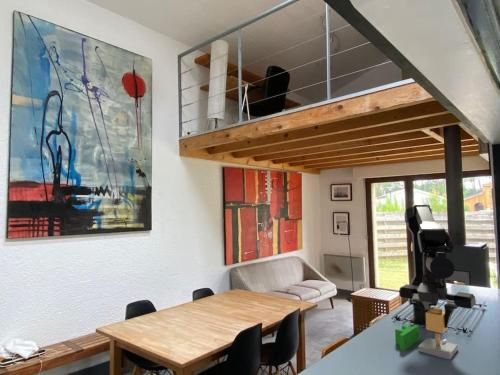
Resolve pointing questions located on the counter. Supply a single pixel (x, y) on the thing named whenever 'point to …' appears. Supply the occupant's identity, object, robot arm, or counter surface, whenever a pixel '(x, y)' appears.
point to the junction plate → (438, 347)
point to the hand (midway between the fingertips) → (436, 325)
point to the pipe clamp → (407, 336)
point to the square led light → (435, 320)
